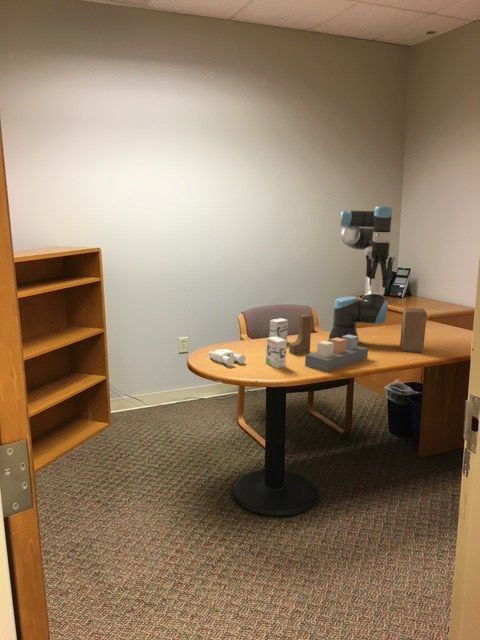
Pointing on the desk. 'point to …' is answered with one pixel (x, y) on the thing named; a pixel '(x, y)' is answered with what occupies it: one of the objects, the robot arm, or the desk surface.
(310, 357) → the gray slotted tray
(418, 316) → the wooden block
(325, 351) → the cream plunger
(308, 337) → the wooden block
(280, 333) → the ink box
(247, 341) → the desk surface
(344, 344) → the salmon pink block
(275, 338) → the ink box
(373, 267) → the robot arm
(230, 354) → the binoculars
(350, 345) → the slate-blue plunger
